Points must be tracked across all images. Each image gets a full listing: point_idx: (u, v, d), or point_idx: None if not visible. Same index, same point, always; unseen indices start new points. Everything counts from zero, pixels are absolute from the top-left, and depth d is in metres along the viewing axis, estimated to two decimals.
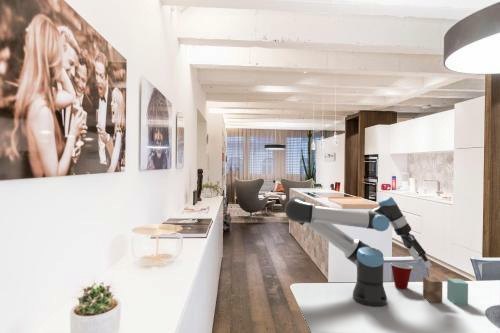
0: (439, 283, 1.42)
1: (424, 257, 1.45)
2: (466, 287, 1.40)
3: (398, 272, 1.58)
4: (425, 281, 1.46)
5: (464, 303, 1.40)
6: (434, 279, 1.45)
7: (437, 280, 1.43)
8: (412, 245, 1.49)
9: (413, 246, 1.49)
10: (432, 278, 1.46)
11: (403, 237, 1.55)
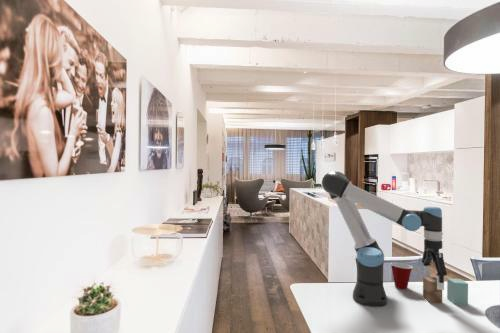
0: None
1: (441, 278, 1.37)
2: (466, 287, 1.40)
3: (398, 272, 1.58)
4: (425, 281, 1.46)
5: (464, 303, 1.40)
6: (434, 279, 1.45)
7: None
8: (435, 262, 1.40)
9: (436, 263, 1.40)
10: (432, 278, 1.46)
11: (428, 251, 1.46)
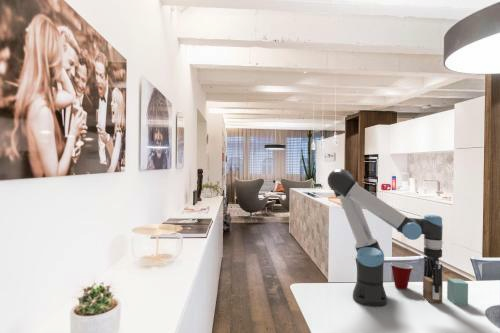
0: None
1: (437, 288, 1.40)
2: (466, 287, 1.40)
3: (398, 272, 1.58)
4: (425, 281, 1.46)
5: (464, 303, 1.40)
6: None
7: None
8: (433, 272, 1.42)
9: (433, 273, 1.42)
10: (432, 278, 1.46)
11: (428, 259, 1.46)
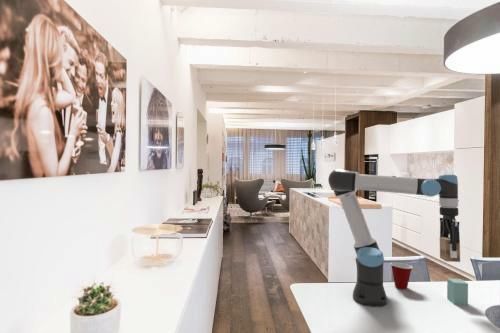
0: None
1: (454, 246, 1.39)
2: (466, 287, 1.40)
3: (398, 272, 1.58)
4: (442, 241, 1.45)
5: (464, 303, 1.40)
6: None
7: None
8: (450, 230, 1.41)
9: (450, 232, 1.41)
10: (448, 238, 1.45)
11: (444, 219, 1.45)
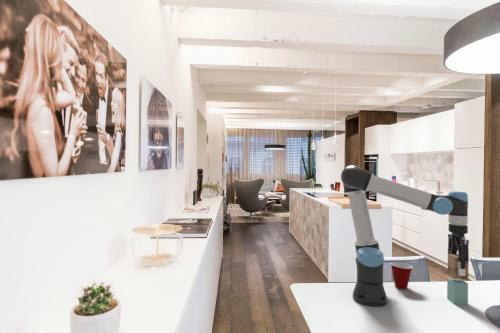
0: None
1: (463, 264, 1.39)
2: (466, 287, 1.40)
3: (398, 272, 1.58)
4: (450, 258, 1.44)
5: (464, 303, 1.40)
6: None
7: None
8: (459, 248, 1.41)
9: (459, 250, 1.40)
10: (457, 255, 1.45)
11: (453, 236, 1.45)
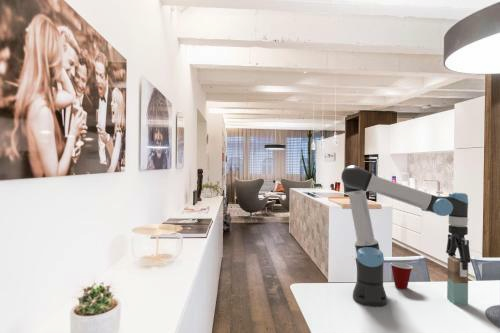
0: None
1: (465, 265, 1.37)
2: (466, 287, 1.40)
3: (398, 272, 1.58)
4: (450, 261, 1.44)
5: (464, 303, 1.40)
6: (459, 259, 1.44)
7: None
8: (459, 249, 1.40)
9: (460, 250, 1.39)
10: (456, 258, 1.45)
11: (453, 237, 1.45)
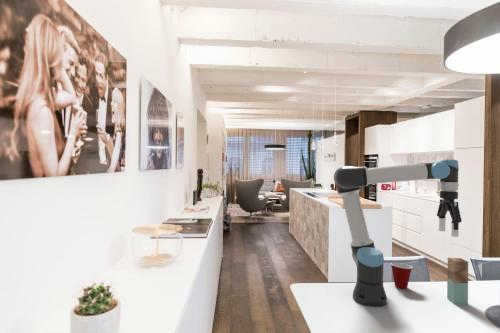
0: (465, 263, 1.40)
1: (456, 225, 1.41)
2: (466, 287, 1.40)
3: (398, 272, 1.58)
4: (450, 261, 1.44)
5: (464, 303, 1.40)
6: (459, 259, 1.44)
7: (462, 260, 1.42)
8: (450, 211, 1.45)
9: (451, 212, 1.45)
10: (456, 258, 1.45)
11: (444, 202, 1.51)
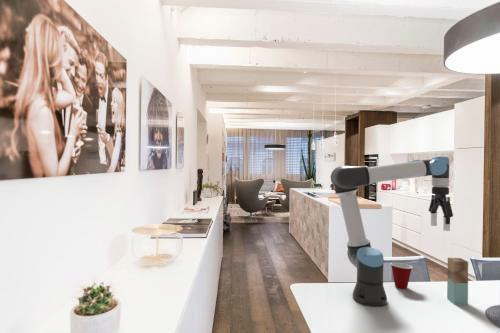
0: (465, 263, 1.40)
1: (448, 220, 1.47)
2: (466, 287, 1.40)
3: (398, 272, 1.58)
4: (450, 261, 1.44)
5: (464, 303, 1.40)
6: (459, 259, 1.44)
7: (462, 260, 1.42)
8: (442, 206, 1.51)
9: (442, 207, 1.50)
10: (456, 258, 1.45)
11: (436, 198, 1.56)
